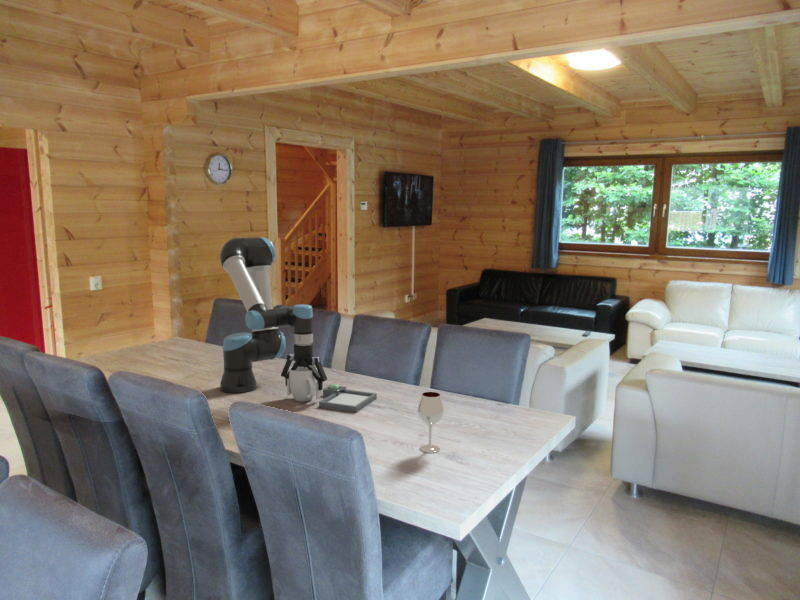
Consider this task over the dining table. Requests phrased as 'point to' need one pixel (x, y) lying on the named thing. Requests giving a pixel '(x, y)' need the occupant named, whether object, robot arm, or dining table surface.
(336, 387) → the button
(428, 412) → the wineglass
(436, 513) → the dining table surface
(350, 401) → the tray
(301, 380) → the mug
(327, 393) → the grey square frame
